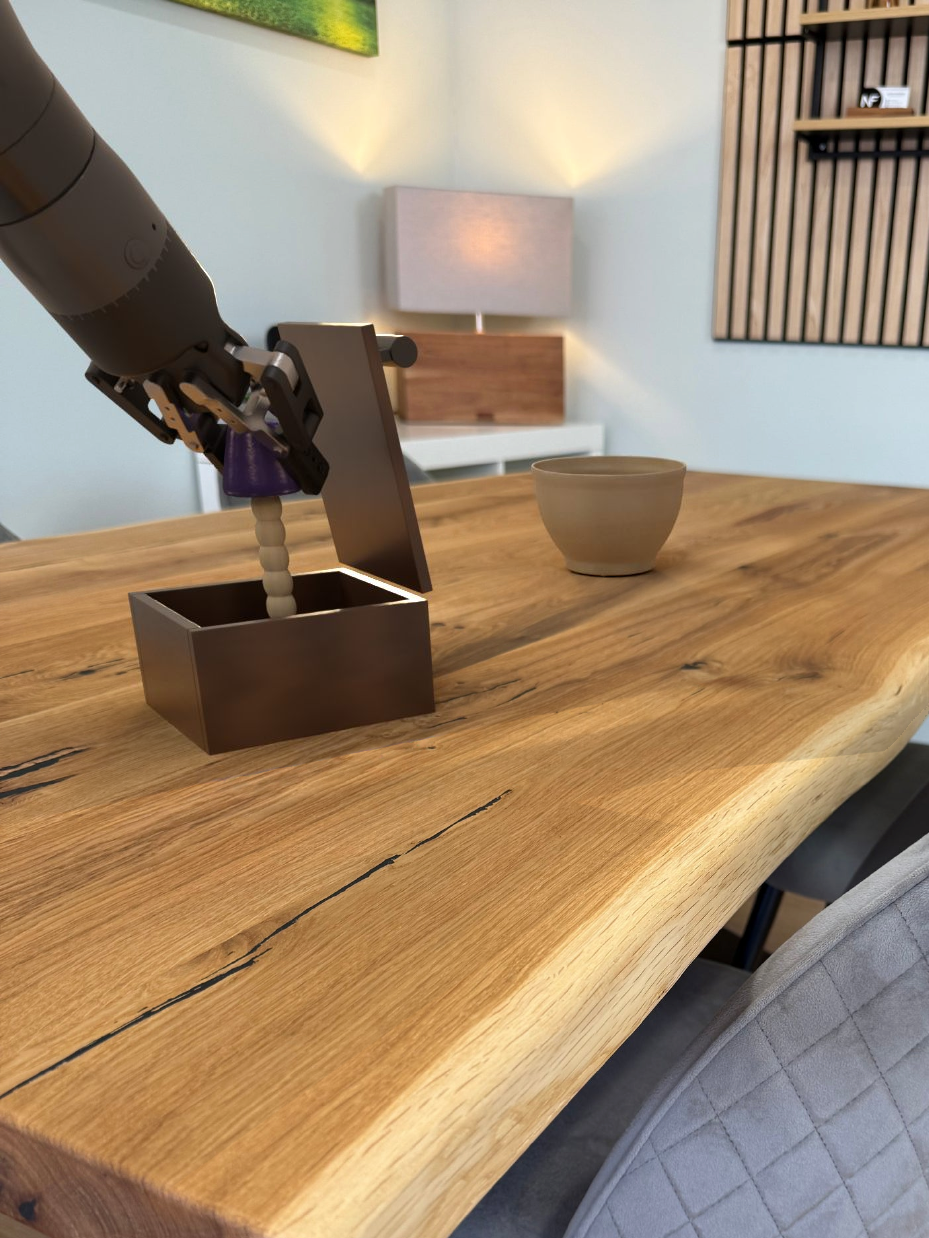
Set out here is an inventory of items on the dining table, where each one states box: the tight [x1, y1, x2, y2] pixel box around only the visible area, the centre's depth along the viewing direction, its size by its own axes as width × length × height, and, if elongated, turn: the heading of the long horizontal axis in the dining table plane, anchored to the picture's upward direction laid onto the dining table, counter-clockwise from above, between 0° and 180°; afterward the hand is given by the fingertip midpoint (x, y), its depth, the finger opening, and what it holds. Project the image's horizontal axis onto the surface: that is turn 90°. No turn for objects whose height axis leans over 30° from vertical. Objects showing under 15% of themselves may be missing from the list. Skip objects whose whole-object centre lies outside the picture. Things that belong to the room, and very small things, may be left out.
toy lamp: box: [221, 419, 302, 618], centre depth 75 cm, size 5×5×17 cm
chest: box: [127, 567, 436, 756], centre depth 77 cm, size 15×13×9 cm
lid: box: [276, 321, 434, 595], centre depth 76 cm, size 15×13×5 cm
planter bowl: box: [530, 454, 687, 577], centre depth 128 cm, size 16×16×11 cm
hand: (283, 480), depth 74 cm, fingers closed on toy lamp, 4 cm apart
